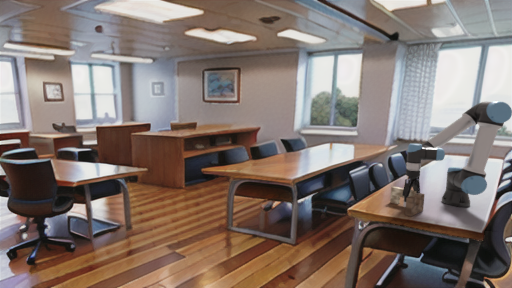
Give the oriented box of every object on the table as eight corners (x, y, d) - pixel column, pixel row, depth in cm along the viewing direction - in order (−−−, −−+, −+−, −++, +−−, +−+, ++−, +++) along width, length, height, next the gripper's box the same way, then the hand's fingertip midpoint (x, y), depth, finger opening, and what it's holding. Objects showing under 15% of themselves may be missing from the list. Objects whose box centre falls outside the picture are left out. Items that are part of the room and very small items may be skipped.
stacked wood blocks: (390, 202, 190) (391, 187, 189) (392, 201, 192) (393, 186, 191) (413, 208, 179) (414, 192, 178) (415, 207, 181) (416, 191, 180)
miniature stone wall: (417, 209, 178) (419, 192, 176) (423, 210, 175) (424, 194, 174) (405, 215, 168) (406, 197, 166) (410, 216, 165) (412, 199, 164)
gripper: (415, 166, 189) (412, 199, 192) (397, 170, 175) (394, 207, 177) (428, 168, 184) (425, 202, 186) (410, 173, 169) (407, 210, 172)
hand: (410, 205), depth 182 cm, fingers open, 11 cm apart
